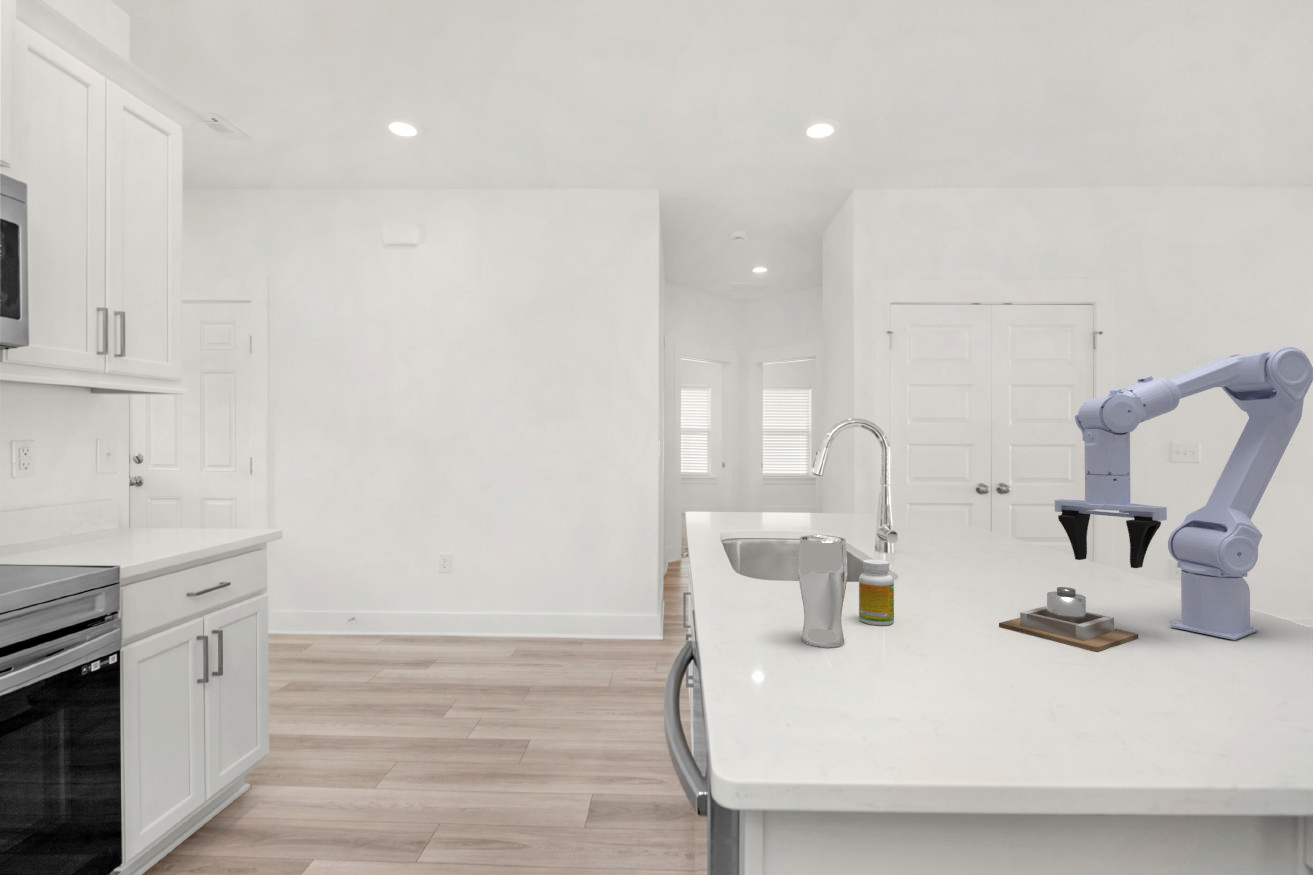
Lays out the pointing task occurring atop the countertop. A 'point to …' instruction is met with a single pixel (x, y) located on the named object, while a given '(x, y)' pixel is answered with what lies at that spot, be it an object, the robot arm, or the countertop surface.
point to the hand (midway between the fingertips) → (1107, 563)
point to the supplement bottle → (876, 593)
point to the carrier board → (1071, 629)
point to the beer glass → (822, 588)
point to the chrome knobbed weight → (1066, 605)
